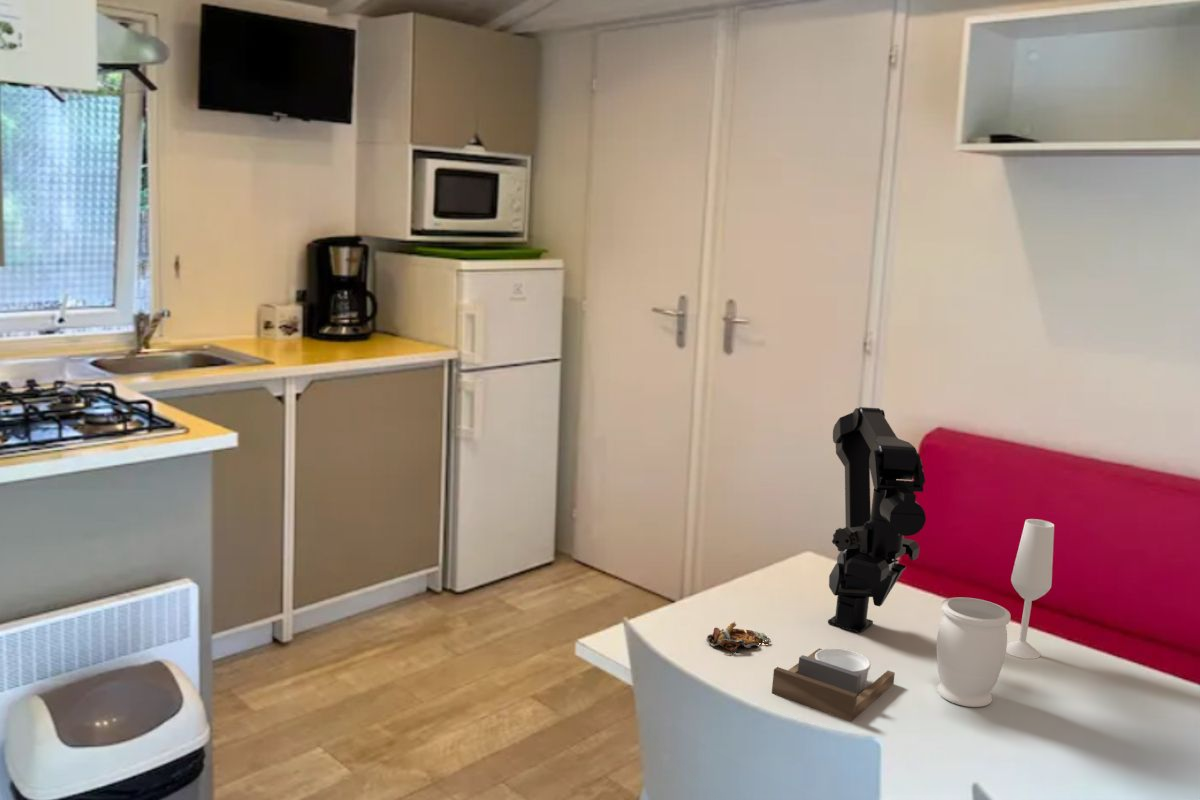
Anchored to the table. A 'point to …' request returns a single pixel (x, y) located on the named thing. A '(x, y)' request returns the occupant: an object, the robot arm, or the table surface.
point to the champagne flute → (1032, 577)
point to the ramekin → (846, 661)
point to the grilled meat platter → (736, 638)
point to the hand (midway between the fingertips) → (877, 605)
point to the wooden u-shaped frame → (827, 692)
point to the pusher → (829, 674)
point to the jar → (970, 649)
